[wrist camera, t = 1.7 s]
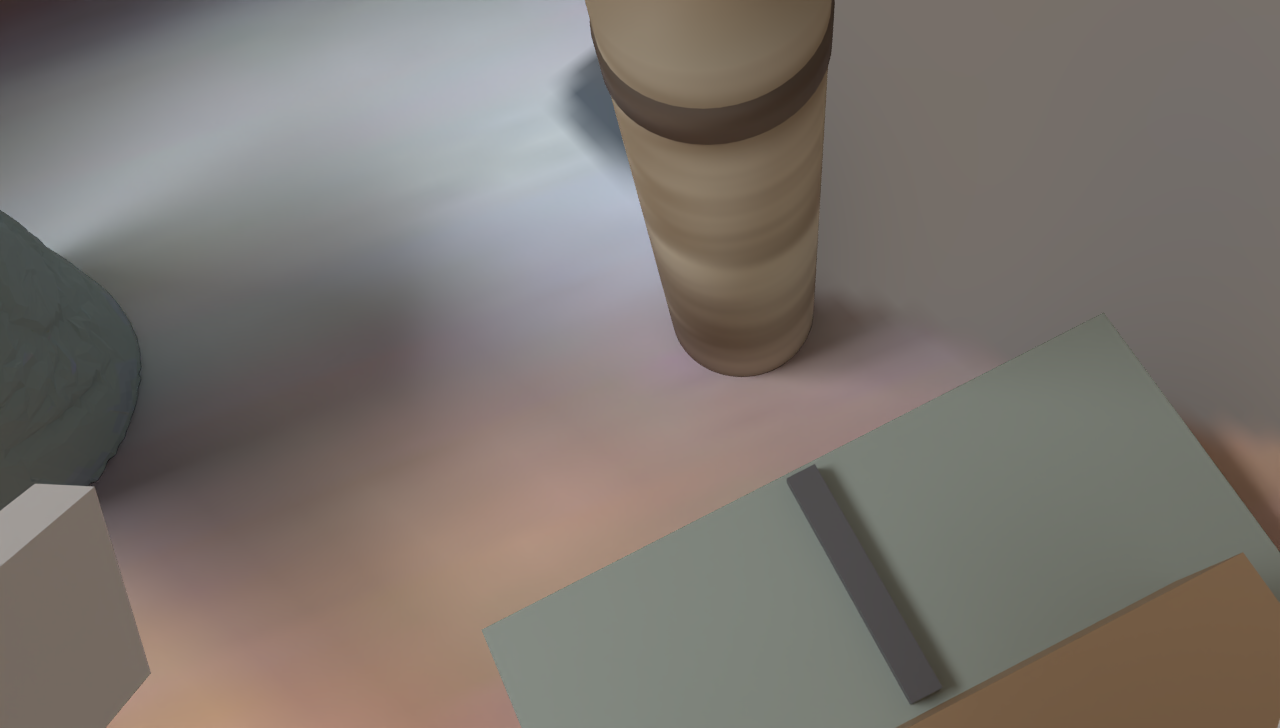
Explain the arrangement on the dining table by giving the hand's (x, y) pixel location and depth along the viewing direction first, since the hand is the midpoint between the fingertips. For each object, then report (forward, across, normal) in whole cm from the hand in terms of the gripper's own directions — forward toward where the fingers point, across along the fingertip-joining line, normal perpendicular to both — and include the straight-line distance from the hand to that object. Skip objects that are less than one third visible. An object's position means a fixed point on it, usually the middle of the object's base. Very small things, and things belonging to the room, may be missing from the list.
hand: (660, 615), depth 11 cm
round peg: (+18, 0, -4) cm, 19 cm away
